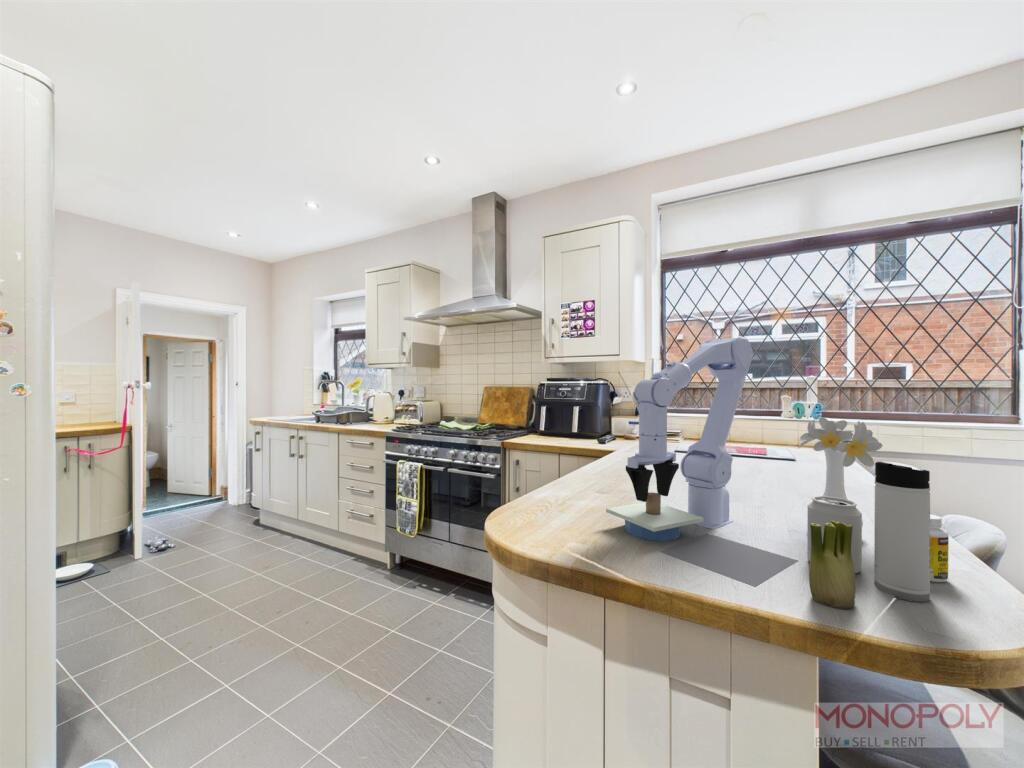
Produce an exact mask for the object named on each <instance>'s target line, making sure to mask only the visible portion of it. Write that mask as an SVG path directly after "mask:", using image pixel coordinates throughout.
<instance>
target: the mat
mask: <svg viewBox="0 0 1024 768" xmlns="http://www.w3.org/2000/svg"><path fill="white" fill-rule="evenodd" d="M659 553H663V554H665V555H668V556H670V557H673V558H676V559H679V560H681V561H684V562H687V563H690V564H692V565H695V566H697V567H699V568H703V569H705V570H708V571H711V572H714V573H717V574H719V575H722V576H724V577H727V578H730V579H731V580H735V581H739V582H741V583H743V584H745V585H746V584H747V585H748V586H751V587H754V588H756V587H758V586H759V585H761V584H763V583H765V582H766V581H767V580H769V579H771V578H772V577H775V576H777V574H779V573H781V572H782V571H784V570H786V569H787V568H789V567H790V566H792V565H795V564H796V563H798V562H799V559H798V560H797V559H795V558H791V557H788V556H784V555H781V554H778V553H774V552H772V551H768V550H764V549H761V548H758V547H754V546H751V545H748V544H744V543H742V542H741V543H740V542H737V541H734V540H731V539H727V538H724V537H721V536H717V535H715V534H710V533H704V534H701V535H698V536H695V537H694V538H691V539H687V540H686V541H683V542H680V543H677V544H675V545H672V546H669V547H667V548H665V549H664V548H663V549H661V550H659Z"/></svg>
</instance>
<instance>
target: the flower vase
mask: <svg viewBox="0 0 1024 768" xmlns="http://www.w3.org/2000/svg"><path fill="white" fill-rule="evenodd" d="M818 423H819V426H820V427H816V421H815V418H814V419H813V421H812V420H809V421H808V424H807V428H806V429H807V432H805V433H803V434H802V435H800V438H799V441H800V442H801V443H800V444H798V447H797V449H801V447H803V446H804V445H807V444H808V443H810V442H812V441H814V440H819V441H817V442H816V443H815V444H814V445H813V450H814V451H816V452H822V451H823V452H824V455H825V461H826V475H825V477H826V478H825V488H824V492H823V495H822V496H828V497H836V498H842V499H846V500H849V499H848V496H847V492H846V488H845V487H846V486H845V468H848V467H850V466H852V465H853V464H855V461H856V460H858V461H859V462H860V463H861V464H862V465H864V466H866V467H873V466H875V461H874V458H873V457H872V456H871V454H873V455H875V456H876V458H879V457H880V455H879V453H878V451H879V450H880V449H882V448H883V443H881V442H879V440H878V439H877V438H876V437H874V436H873V433H874V432H873V430H871V429H868V428H867V426H866V423H865V422H864V421H862V422H860V421H859V420H857V423H854V424H853V427H854V429H848V430H845V429H846V428H847V426H848V422H847V421H846V420H844V419H843V420H842V419H841V420H838V421H836V422H834V421H833V420H828V419H827V418H826V417H823V416H821V417H819V418H818ZM853 432H854V433H853ZM869 453H871V454H869ZM863 526H864V521H863V519H862V528H863Z"/></svg>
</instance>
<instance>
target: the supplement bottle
mask: <svg viewBox="0 0 1024 768" xmlns="http://www.w3.org/2000/svg"><path fill="white" fill-rule="evenodd" d="M948 580H949V532H948V531H947V530H946V529H944V528H943V522H942V517H941V516H940V515H939V516H938V515H935V514H931V513H930V581H931V582H930V583H945V582H947V581H948Z"/></svg>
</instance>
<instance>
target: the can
mask: <svg viewBox="0 0 1024 768" xmlns="http://www.w3.org/2000/svg"><path fill="white" fill-rule="evenodd" d="M811 500H812V501H811V502H810V503H809V504H807V530H806V531H807V538H806V539H807V540H806V541H807V548H806V549H807V552H806V553H807V555H806V556H807V560H808V561H809V562H810V559H811V528H810V524H811V523H816V524H819V525H821V533H822V544H823V535H824V527H825V523H831V521H838V522H840V524H841V523H847V524H849V525H852V526H853V529H852V539H851V556H852V561H853V566H854V571H855V574H858V573H860V572H862V569H863V562H862V560H863V558H862V557H863V549H862V545H863V543H862V542H863V539H862V538H863V535H862V534H863V527H862V520H863V513H862V512H861V511H860V510H859V509H858V508H857V506H858V504H857V502H855V501H853V500H850V499H848V500H846V499H842V498H836V497H828V496H823V495H817V496H813V497H812V498H811ZM831 524H832V523H831Z"/></svg>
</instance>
